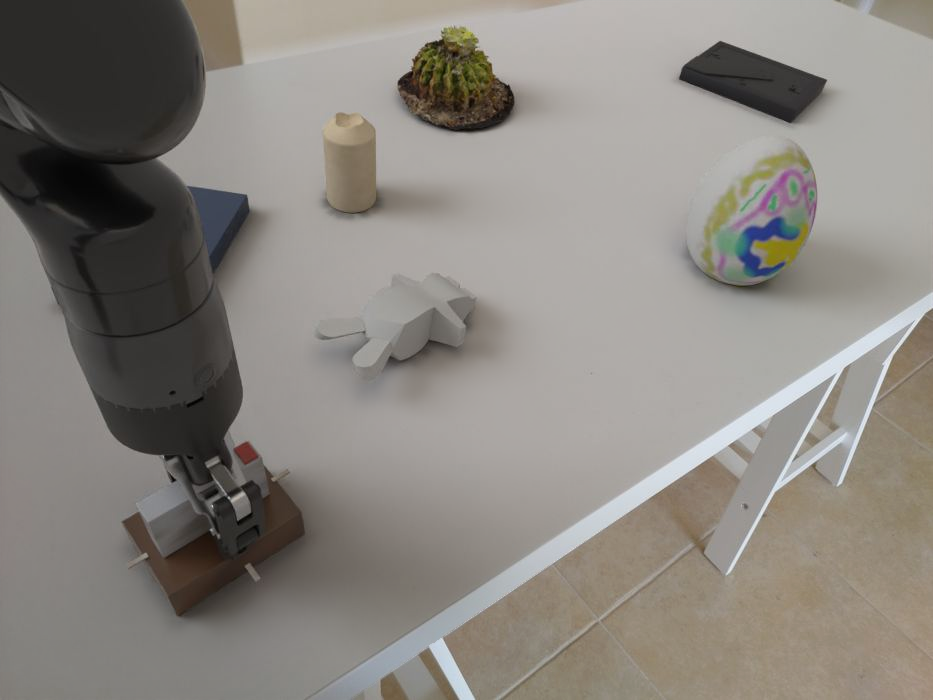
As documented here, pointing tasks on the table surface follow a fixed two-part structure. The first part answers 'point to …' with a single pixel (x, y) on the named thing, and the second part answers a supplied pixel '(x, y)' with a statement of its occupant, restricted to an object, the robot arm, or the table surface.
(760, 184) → the decorative egg
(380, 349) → the bunny figurine
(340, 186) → the candle
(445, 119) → the cactus
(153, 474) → the table surface
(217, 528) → the robot arm
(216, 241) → the button block
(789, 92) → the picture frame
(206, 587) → the tap base
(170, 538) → the light grey narrow block
